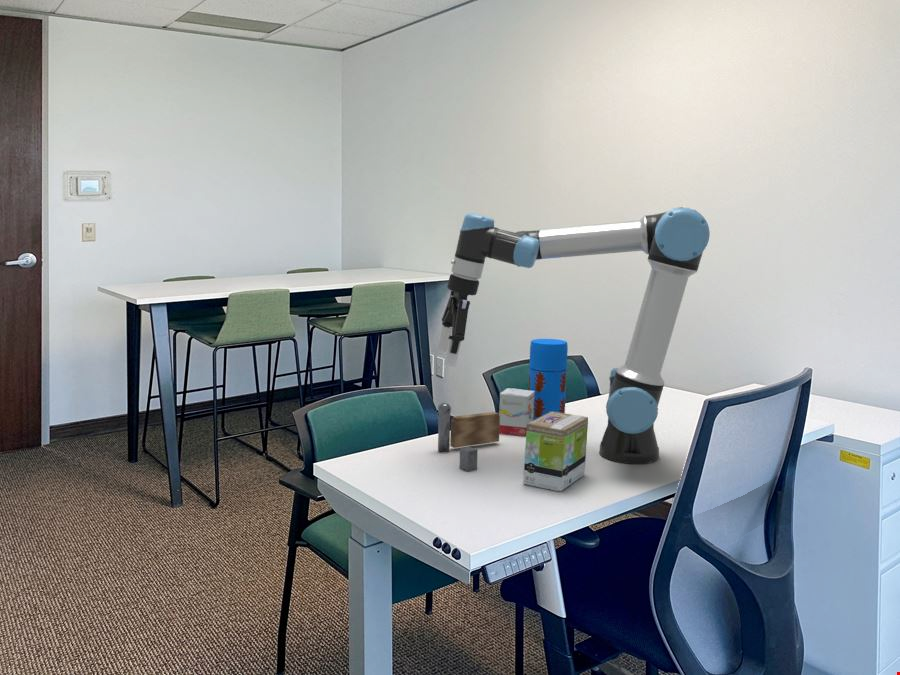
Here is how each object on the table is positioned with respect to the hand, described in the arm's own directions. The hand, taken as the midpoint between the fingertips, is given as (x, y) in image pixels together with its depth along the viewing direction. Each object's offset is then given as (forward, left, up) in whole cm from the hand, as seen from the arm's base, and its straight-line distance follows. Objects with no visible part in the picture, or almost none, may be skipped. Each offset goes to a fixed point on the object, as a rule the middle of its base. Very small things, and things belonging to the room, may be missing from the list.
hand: (445, 358), depth 206 cm
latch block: (-13, +2, -25) cm, 28 cm away
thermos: (+5, -43, -25) cm, 50 cm away
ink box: (+5, -31, -26) cm, 41 cm away
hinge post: (+2, -2, -25) cm, 25 cm away
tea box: (-31, -9, -26) cm, 41 cm away
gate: (+1, -11, -24) cm, 27 cm away
